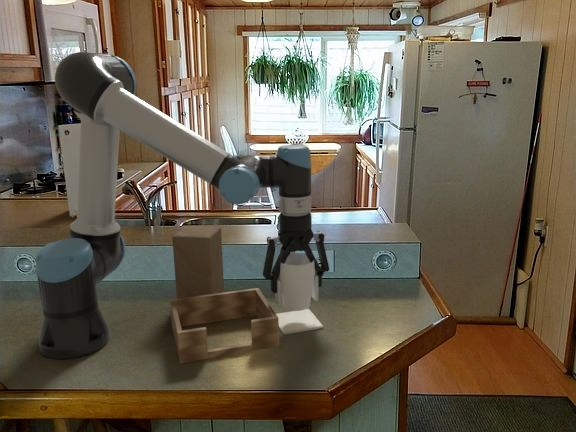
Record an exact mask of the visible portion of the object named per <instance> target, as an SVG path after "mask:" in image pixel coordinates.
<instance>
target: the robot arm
mask: <svg viewBox="0 0 576 432" xmlns="http://www.w3.org/2000/svg"><path fill="white" fill-rule="evenodd" d="M54 74H55V75H54V84H55V88H56V90H57V92H58V95H59V96H60V97H61V99H62V100H63V101H64V102H65V103H66V104H68V105H69V106H70V107H72V108H73V112H74V114H75V115H76V116H77V118H79V119H80V124H81V131H80V158H79V184H78V211H77V217H76V219H75V220H74V221H73V222H71V223H70V225H69V237H68V238H63V239H58V240H57V241H52V242H49V243H47V244H46V245H43V246H42V247H41V248H40V249H39V250H38V251H37V252H36V256H35V274H36V277H37V284H38V289H39V296H40V303H41V307H42V317H43V318H42V322H41V326H40V332H39V336H38V348H39V352H40V354H41V355H43V356H45V357H46V358H49V359H56V360H65V359H67V360H68V359H74V358H80V357H83V356H87V355H89V354H93V353H94V352H96V351H98V350H100V349H102V348H103V347H104V346H106V344H108V342H109V341H110V338H111V336H110V334H111V333H110V327H109V325H108V323H107V320H106V319H105V317H104V315H103V312H102V311H101V309H100V307H99V301H98V300H99V299H98V292H97V286H98V284H99V283H100V282H102V281H103V280H104V279H106V277H107V276H109V275H110V274H112V273H113V272H114V271H115V270H116V269H118V267H119V266H120V264H121V263H122V261H123V260H124V257H125V256H126V255H125V254H126V242H125V239H124V237H123V236H122V235H121V225H120V224H119V223H118V222H117V221H116V220H115V219H116V202H117V201H116V199H117V184H118V168H119V149H120V134H121V133H120V131H121V132H123V134H126V135H127V136H129V137H131V138H132V139H134V140H136V141H138V142H139V143H141V144H143V145H144V146H146V147H147V148H149V149H150V150H153V151H154V152H156V153H157V154H159V155H161V156H162V157H163V158H166V159H168V160H169V161H171V162H172V163H174V164H175V165H177V166H179V167H180V168H182V169H184V170H185V171H188V172H190V173H191V174H193V175H194V176H195V177H197V178H199V179H200V180H202V181H204V182H206V183H207V184H208V185H211V186H212V187H214V188H215V189H217V190H218V191H219V194H220V195H221V197H222V198H223V199H224V200H225V201H226V202H227V203H230V204H232V205H243V204H246V203H248V202H250V201H251V200H252V199H254V197H255V196H257V195H258V192H259V190H260V189H261V188H263V189H264V188H265V189H266V188H268V189H269V188H272V189H273V188H278V211H279V212H280V213H279V214H278V215H279V217H278V218H279V220H278V221H279V232H278V234H277V236H272V237H271V236H267V237H266V243H267V248H266V254H265V255H266V256H265V260H264V264H263V265H264V266H263V269H262V270H263V271H262V276H263V277H264V279H265V280H267V281H270V290H271V292H272V294H274V303H275V304H276V307H278V308H279V307H280V308H281V307H282V297H281V281H280V280H279V278H278V277H279V275H280V266H281V263H283V264H285V262H286V259H287V257H288V256H289V255H290V253H296V252H297V251H299V252H304V254H306V255H307V257H308V259H309V261H310V263H311V262H313V261H314V266H315V274H314V281H313V288H312V295H311V299H313V300H314V301H315V302H319V288H320V287H322V284H323V280H322V279H323V277H324V273H325V272H329V271H330V265H329V261H328V256H327V252H326V248H325V244H324V242H325V233H323V232H321V231H320V230H317V231H316V232H315V231H314V232H313V230H312V227H313V226H312V225H313V223H312V217H313V216H312V213H311V212H312V211H311V210H312V159H311V158H312V157H311V150H310V148H309V147H308V146H306V145H304V144H287V145H286V144H285V145H281V146H278V148H277V152H276V154H243V153H242V154H237V155H232V154H230V152H228V151H226V150H224V149H223V148H221V147H219V146H218V145H216V144H215V143H213V142H211V141H210V140H208V139H207V138H205V137H203V136H201V135H200V134H198V133H196V132H195V131H193V130H192V129H190V128H188V127H186V126H185V125H183V124H182V123H180V122H178V121H177V120H175V119H174V118H172V117H170V116H168V115H167V114H165V113H163V112H162V111H160V110H159V109H158V108H156V107H154V106H152V104H151V105H150V104H149V103H147V102H146V101H144V100H143V99H140V98H139V97H138V96H136V95H135V93H136V91H137V77H136V74H135V72H134V70H133V69H132V67H131V66H130V65H129V63H127V61H126V60H124V59H122V58H120V57H119V56H116V55H115V54H109V53H107V52H105V53H103V52H88V51H87V52H86V51H78V52H72V53H71V54H68V55H67V56H65V57H63V59H62V60H61V61H60V62H59V63H58V65H57V67H56V70H55V73H54ZM312 240H314V241H315V245H316V251H317V253H318V254H317V255H318V259H319V262H320V265H319V263H318V261H317V259H316V257H315V255H314V253H313V252H312V248H311V247H310V243H311V241H312ZM279 242H280V243H281V247H280V252H279V254H278V256H277V258H276V261H275V263H274V259H275V253H276V247H277V246H278V243H279ZM273 264H274V265H273Z"/></svg>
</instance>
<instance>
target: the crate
mask: <svg viewBox="0 0 576 432" xmlns="http://www.w3.org/2000/svg"><path fill="white" fill-rule="evenodd" d="M169 303H170V305H169V306H170V316H171V319H170V320H171V328H172V333H173V336H174V340H175V346H176V351H177V355H178V360H179V364H183V363H189V362H190V363H191V362H195V361H200V360H201V361H202V360H206V359H213V358H219V357H223V356H224V357H225V356H231V355H235V354H236V355H238V354H242V353H248V352H253V351H260V350H266V349H272V348H277V347H280V335H279V334H280V333H279V332H280V329H279V321H278V317H277V315H276V314H277V313H276V312H275V311H274V309H273V307H272V306H271V305H270V303H269V302H268V300H267V298H266V297H265V295H264V294H263V293H262V291H261V289H260V288H259V287H255V288H249V289H247V288H246V289H239V290H233V291H224V293H216V294H209V295H201V296H194V297H187V298H179V299H177V298H173V299H169ZM254 316H256V319H251V320H250V325H251V326H250V329H251V342H247V343H241V344H235V345H229V346H223V347H218V348H216V347H215V348H211V349H208V335H207V334H208V333H207V327H206V326H204V327H196V328H190V329H184V330H183V328H182V327H188V326H194V325H201V324H208V323H212V322H220V321H228V320H234V319H240V318H242V319H243V318H247V317H254Z"/></svg>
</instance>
